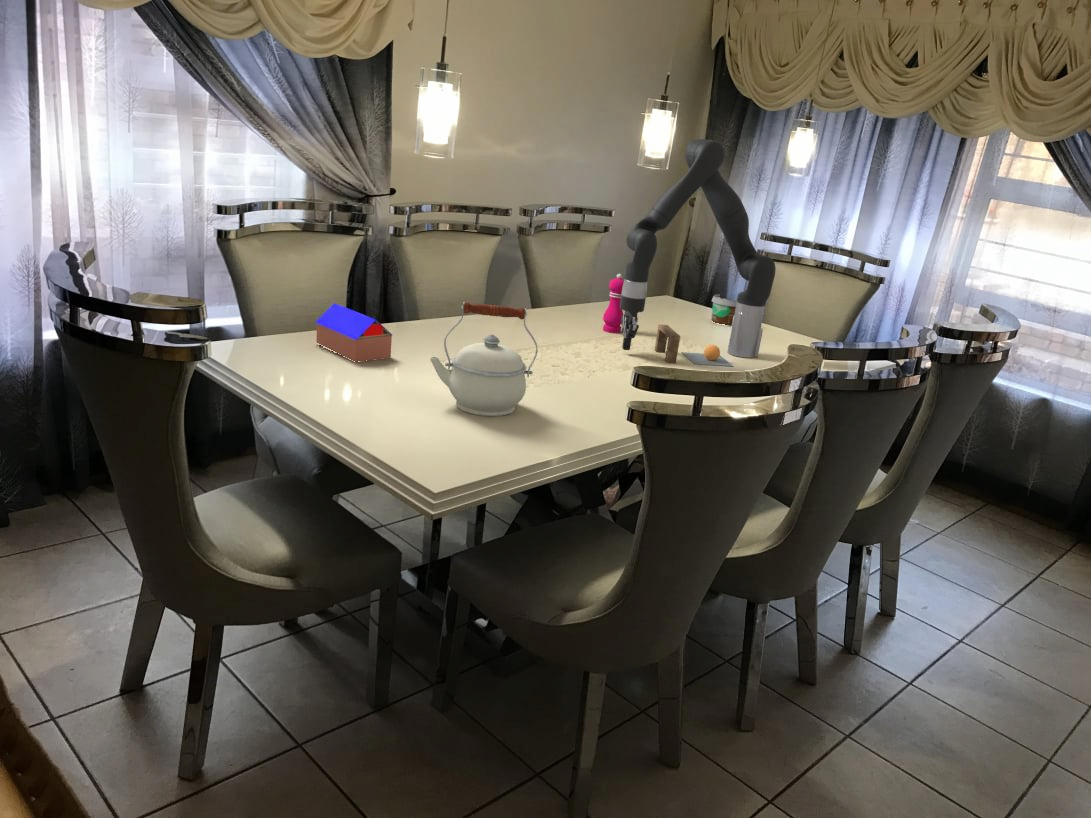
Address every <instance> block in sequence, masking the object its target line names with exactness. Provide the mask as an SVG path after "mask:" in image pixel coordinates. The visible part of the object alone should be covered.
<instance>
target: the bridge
mask: <svg viewBox="0 0 1091 818" xmlns="http://www.w3.org/2000/svg"><path fill="white" fill-rule="evenodd" d="M680 340H681V335H680V334H679V333H678V332H676V331H675V330H674V329H673V328H672V327H670V326H669V324H660V323H659V324H658V326H657V332H656V338H655V345H654V350H655V351H656V352H655V353H661V354H662V353H664V354H665V358H664V363H665V362H666V363H667V364H677V359H678V354H679V346H680V342H681V341H680Z"/></svg>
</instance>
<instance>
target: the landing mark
mask: <svg viewBox="0 0 1091 818" xmlns="http://www.w3.org/2000/svg"><path fill="white" fill-rule="evenodd" d="M681 354H682V355H683V356H685V358H687V359H688V360H689V361H690V363H691V364H693V365H701V366H703V365H705V366H717V367H718V366H719V367H732V368H733V367H734V365H733V364H732V363H731V362H729V361H728V360H727V359H726V358H724V357H723V356H722V355H720V356H719V357H718V359H716V360H714V361H711V360H708V359H707V358H706V357H705V355H704V353H700V352H699V353H698V352H697V353H696V352H683V351H682V352H681Z"/></svg>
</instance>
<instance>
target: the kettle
mask: <svg viewBox="0 0 1091 818" xmlns="http://www.w3.org/2000/svg"><path fill="white" fill-rule="evenodd" d="M460 307H461V309H462V313H461V318H460V319H459V320H458V322H456V323H455V324H453V326H452V327H451V328H450V329H449V330H448V332H447V333H446V335H445V338H444V341H443V345H444V346H443V347H444V352H445V356H446V357H447V358H446V359H447V361H448V362H445V363H444V364H443V363H442V362H441V360H440V358H439V357H438V356H435V355H434V356H430V357H429V360H430V362H431V364H432V366H433V368H434V370H435V372H436V375H437V376H438V377H439V379H440V380H441V382H442V383H443V384H444V385H445V386H446V387H447V388H448V389H449V391H450V394H451V396H452V397H453V398H454V399H455V405H456V407H457V408H458V409H460V410H461V411H463V412H465V413H468V414H470V415H476V416H480V417H503V416H506V415H510V414H512V413H513V412H514V411H515V408H516V405H518V404H519V403H520V402H521V401H522V400H523V398H524V396H525V394H526V390H527V381H526V377H527V378H529V377H530V375H532V374H534V373H533V372H534V371H533V370H531V368H532V367H533V364H534V362H535V360H536V358H537V355H538V345H537V344H538V343H537V341H536V339H535V338H534V336H533V335H532V333H531V331H530V330H529V328H528V327H527V325H526V317H527V316H528V312H527V308H524V307H520V308H514V307H510V306H506V305H501V306H500V305H496V304H495V305H493V304H488V303H487V304H485V303H478V304H477V303H475V304H474V303H469V302H468V301H463V302H462V305H461V306H460ZM469 313H470V314H471V313H472V314H477V315H481V316H490V317H496V318H497V317H500V318H518V319H519V320H523V326H524V328H525V331H526V332H527V333H528V334H529V336H530V338H531V339H532V341H533V342H534V343H533V344H534V345H535V348H536V349H535V354H534V356H533V359H531V363H530V364H529V366H528V367H527V365H526V364H525V363H524V362H523V359H522V357H521V355H520V354H519V353H518V351H516V350H514V349H513V348H511V347H509V346H507V345H503V344H500V343H501V340H500V339H499V337H497V336H496V335H494V334H493V333H490V334H489V335H487V336H485V337H484V338H483V339H482V341H483V342H476V343H471V344H469V345H466V346H464V347H463V348H461V349H460V350H459V352H457V354H456V355H455V356H454V357H453V358H452V359H451V358H450V355H449V352H448V349H447V339H448V336H449V335H450V333H451V332H452V331H453V330H454V329H455V328H456V327H457V326H458V325H459V324H461V322H462V321H463V318H464V314H465V315H467V314H469ZM450 368H451V369H450ZM525 375H526V376H525Z"/></svg>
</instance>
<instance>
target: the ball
mask: <svg viewBox="0 0 1091 818" xmlns="http://www.w3.org/2000/svg"><path fill="white" fill-rule="evenodd" d="M703 351H704V352H703V354H704V355H705V357H706V358H707V359H708V360H711V361H714V360H716V359H718V357H719V356H721V350H720V347H718V346H717V345H715V344H709V345H707V346H706V347H705V349H704V350H703Z"/></svg>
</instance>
